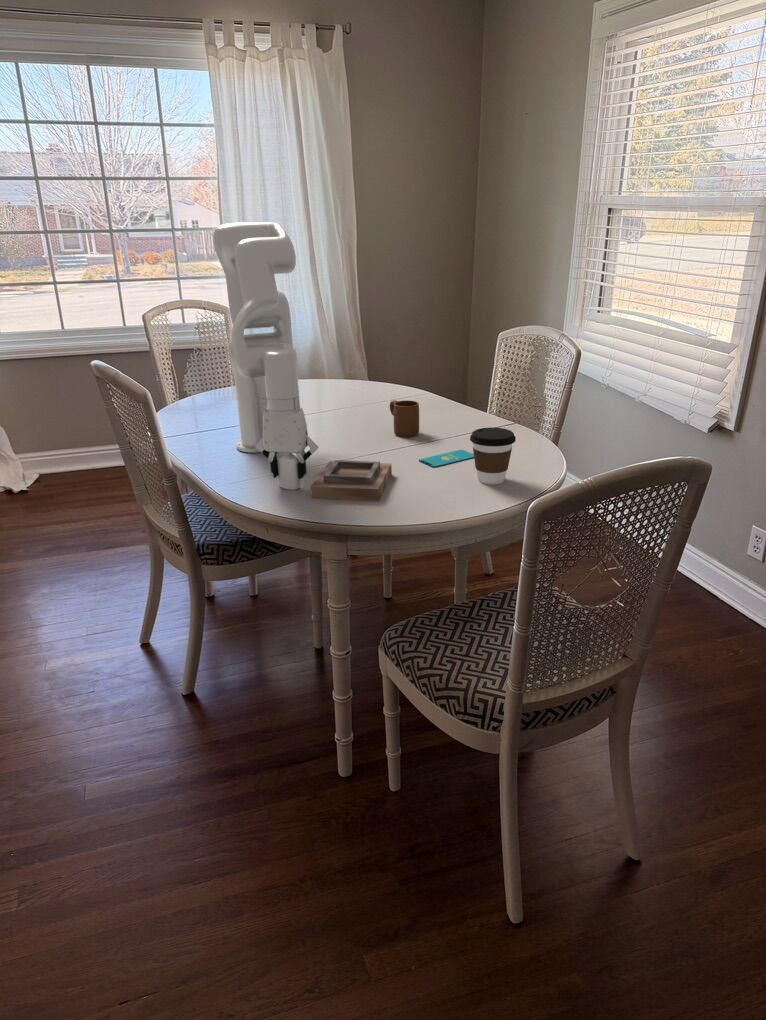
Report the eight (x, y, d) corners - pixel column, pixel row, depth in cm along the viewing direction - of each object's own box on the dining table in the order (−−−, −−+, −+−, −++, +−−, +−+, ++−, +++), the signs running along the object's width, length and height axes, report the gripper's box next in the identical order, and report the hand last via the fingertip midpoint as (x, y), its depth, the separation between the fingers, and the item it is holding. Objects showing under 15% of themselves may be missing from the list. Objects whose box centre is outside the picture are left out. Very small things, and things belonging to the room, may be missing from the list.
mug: (380, 430, 216) (380, 400, 212) (401, 425, 219) (400, 396, 216) (403, 439, 206) (403, 408, 203) (424, 434, 210) (424, 403, 206)
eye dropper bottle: (294, 481, 175) (290, 435, 171) (302, 489, 171) (299, 441, 166) (277, 485, 174) (273, 438, 169) (285, 492, 169) (281, 444, 164)
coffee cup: (459, 480, 174) (460, 433, 169) (487, 469, 181) (488, 424, 176) (495, 491, 166) (497, 442, 162) (522, 479, 173) (525, 432, 169)
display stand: (330, 472, 182) (329, 455, 180) (391, 474, 179) (391, 457, 177) (311, 498, 165) (310, 480, 164) (378, 501, 162) (378, 483, 161)
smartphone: (478, 455, 190) (433, 466, 182) (478, 458, 190) (433, 469, 183) (461, 449, 196) (417, 459, 188) (461, 451, 196) (417, 462, 188)
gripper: (242, 406, 162) (250, 480, 169) (314, 408, 159) (319, 483, 166) (253, 398, 169) (260, 469, 176) (323, 400, 166) (327, 472, 173)
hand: (289, 475), depth 171 cm, fingers closed on eye dropper bottle, 5 cm apart
